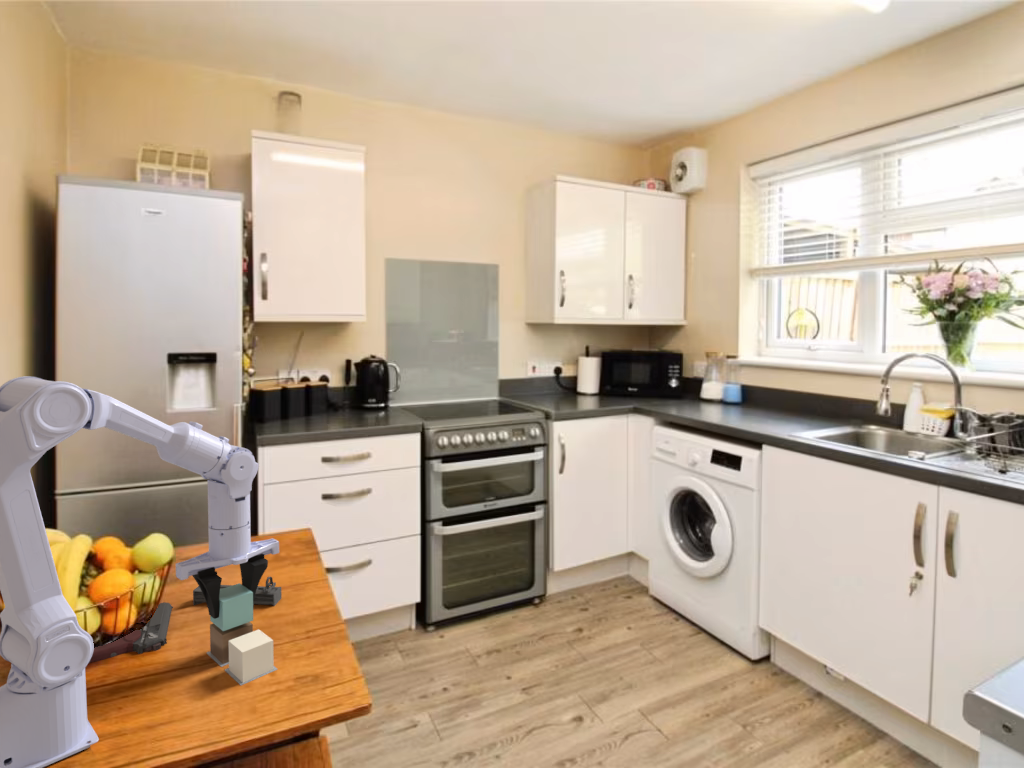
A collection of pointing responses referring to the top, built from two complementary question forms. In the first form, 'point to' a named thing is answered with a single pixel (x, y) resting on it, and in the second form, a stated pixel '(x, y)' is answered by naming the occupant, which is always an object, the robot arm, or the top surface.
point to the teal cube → (234, 607)
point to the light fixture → (261, 596)
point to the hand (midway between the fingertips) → (231, 610)
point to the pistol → (139, 637)
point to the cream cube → (251, 655)
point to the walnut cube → (225, 639)
